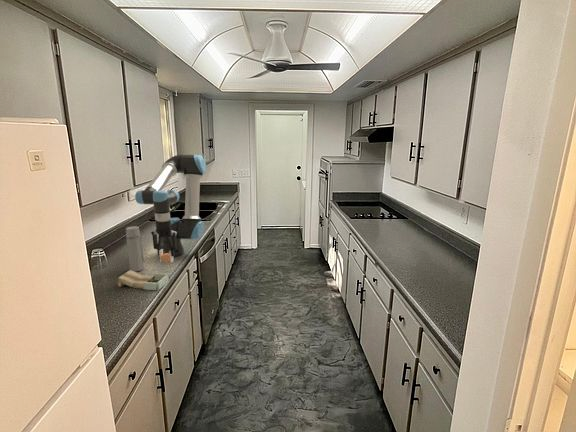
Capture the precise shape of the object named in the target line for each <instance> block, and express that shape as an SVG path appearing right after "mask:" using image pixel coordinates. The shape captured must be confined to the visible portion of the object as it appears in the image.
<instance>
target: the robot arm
mask: <svg viewBox="0 0 576 432" xmlns="http://www.w3.org/2000/svg"><path fill="white" fill-rule="evenodd" d="M206 171H207V164H206V160H205V158H204V157H203V155H200V154H176V155H173V156H172V157H170V158H168V159H167V160H166V161H165V162H164V163H163V164H162V165H161V169H160V170H159V171H158V173H157V174H156V175H155V176H154V178H153V179H152V180H151V181H150V183H148V184H147V186H146V187H145V188H144V189H141V190H140V189H139V190H137V191H136V192H135V195H134V197H135V201H136V202H137V204H140V205H153V209H154V212H153V213H154V220H155V221H154V222H155V223H154V224H155V228H156V229H154V230H152V231H151V232H150V233H151V236H152V244H153V249H154V250H157V256H158V257H159V263H162V262H163V261H162V259H161V257H162V255H163V254H165V253H168V254H169V256H170V261H169V263H172V262H173V263H174V261H175V260H174V258H176V257H179V256H182V255H184V254H185V247H184V245H183V243H182V240H193V241H194V240H200V239H201V238H202V237H203V234H204V229H205V223H204V221H202V218H201V217H200V215H199V214H200V192H201V191H200V189H201V188H200V187H201V184H200V183H201V179H202V178H203V177H204V176H203V174H206V173H207V172H206ZM177 174H183V176H184V178H185V201H184V202H185V203H184V204H185V206H184V215H183V216H182V218H181V220H180V218H179V217H171V213H170V211H171V210H170V206H172V205H175V204H176V203H177V202H179V200H180V194H179V192H178V191H177V190H175V189H169V190H166V189H164V188H165V186H167V184H168V183H169V181H170V180H171V179H172V177H174V176H176V175H177Z"/></svg>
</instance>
